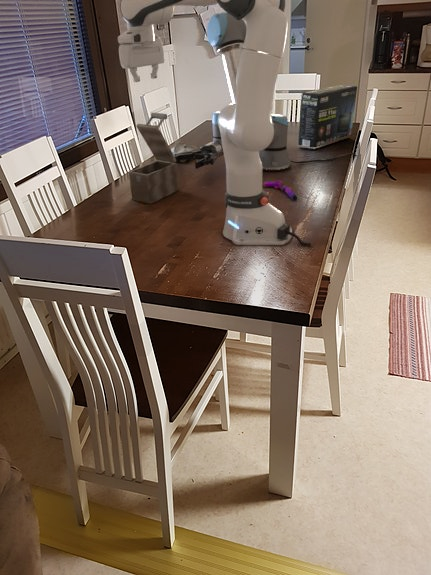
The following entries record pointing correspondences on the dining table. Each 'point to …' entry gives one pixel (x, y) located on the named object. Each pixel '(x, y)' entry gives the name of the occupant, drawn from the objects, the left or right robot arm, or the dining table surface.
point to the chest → (153, 181)
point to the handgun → (281, 185)
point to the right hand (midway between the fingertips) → (182, 163)
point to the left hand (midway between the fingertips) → (145, 80)
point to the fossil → (182, 149)
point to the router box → (326, 115)
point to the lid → (156, 139)
